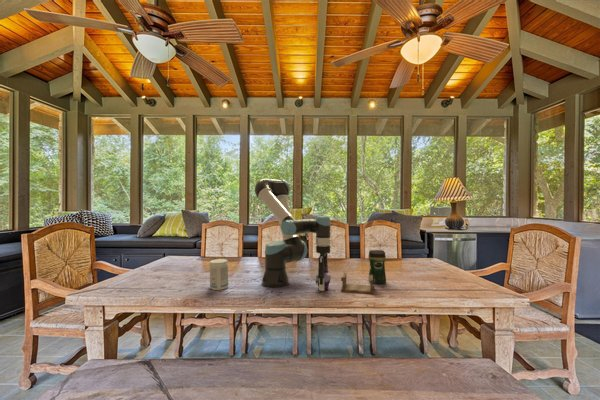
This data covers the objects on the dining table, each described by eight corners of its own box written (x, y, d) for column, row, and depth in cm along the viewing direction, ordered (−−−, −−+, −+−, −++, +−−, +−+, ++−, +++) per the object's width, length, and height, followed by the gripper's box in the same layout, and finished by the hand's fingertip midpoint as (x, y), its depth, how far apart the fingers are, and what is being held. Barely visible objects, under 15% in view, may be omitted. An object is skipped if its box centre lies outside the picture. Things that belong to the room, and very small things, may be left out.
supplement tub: (227, 284, 156) (227, 258, 156) (229, 289, 147) (229, 261, 147) (209, 286, 153) (209, 259, 153) (210, 291, 144) (209, 263, 144)
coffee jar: (383, 280, 163) (384, 249, 163) (387, 284, 155) (387, 251, 155) (367, 280, 164) (367, 248, 164) (369, 284, 156) (369, 251, 156)
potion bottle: (312, 287, 150) (312, 265, 150) (326, 285, 153) (326, 264, 153) (319, 292, 142) (319, 269, 142) (334, 290, 145) (334, 267, 145)
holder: (340, 291, 144) (340, 277, 144) (342, 285, 154) (342, 272, 154) (375, 294, 140) (375, 280, 140) (374, 288, 149) (374, 274, 149)
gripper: (326, 249, 136) (326, 294, 136) (332, 242, 157) (332, 282, 157) (312, 248, 138) (312, 293, 138) (319, 241, 159) (319, 281, 159)
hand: (323, 287), depth 147 cm, fingers closed on potion bottle, 8 cm apart
